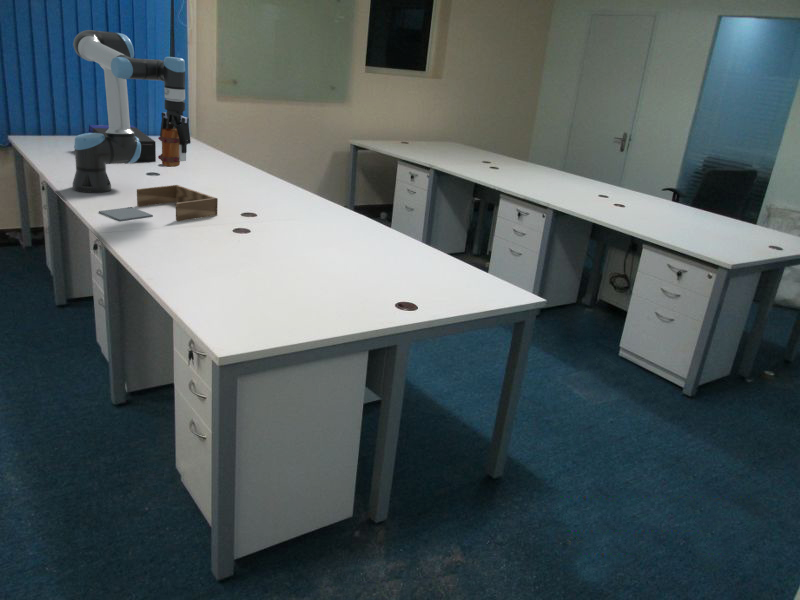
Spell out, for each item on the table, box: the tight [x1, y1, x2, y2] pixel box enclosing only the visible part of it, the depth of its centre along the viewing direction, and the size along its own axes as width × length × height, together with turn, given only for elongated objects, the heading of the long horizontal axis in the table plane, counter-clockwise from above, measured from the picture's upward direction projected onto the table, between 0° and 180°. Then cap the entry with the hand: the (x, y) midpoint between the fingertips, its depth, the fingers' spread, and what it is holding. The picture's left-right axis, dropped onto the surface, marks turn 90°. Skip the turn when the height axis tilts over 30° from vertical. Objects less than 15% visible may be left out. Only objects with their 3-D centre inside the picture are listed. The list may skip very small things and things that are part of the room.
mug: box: [157, 126, 181, 168], centre depth 255 cm, size 15×8×15 cm, turn 168°
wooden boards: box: [136, 184, 219, 222], centre depth 263 cm, size 26×19×7 cm
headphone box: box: [88, 124, 157, 163], centre depth 352 cm, size 25×35×14 cm
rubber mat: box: [98, 206, 153, 222], centre depth 251 cm, size 14×14×1 cm
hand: (175, 158), depth 257 cm, fingers closed on mug, 8 cm apart
